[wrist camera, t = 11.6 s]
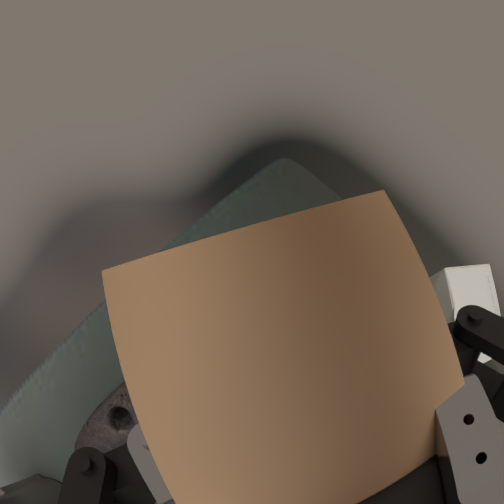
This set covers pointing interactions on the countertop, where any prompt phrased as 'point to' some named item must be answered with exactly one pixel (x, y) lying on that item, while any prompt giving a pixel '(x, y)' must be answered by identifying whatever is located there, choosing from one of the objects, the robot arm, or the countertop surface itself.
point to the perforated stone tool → (109, 422)
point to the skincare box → (465, 291)
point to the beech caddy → (286, 357)
